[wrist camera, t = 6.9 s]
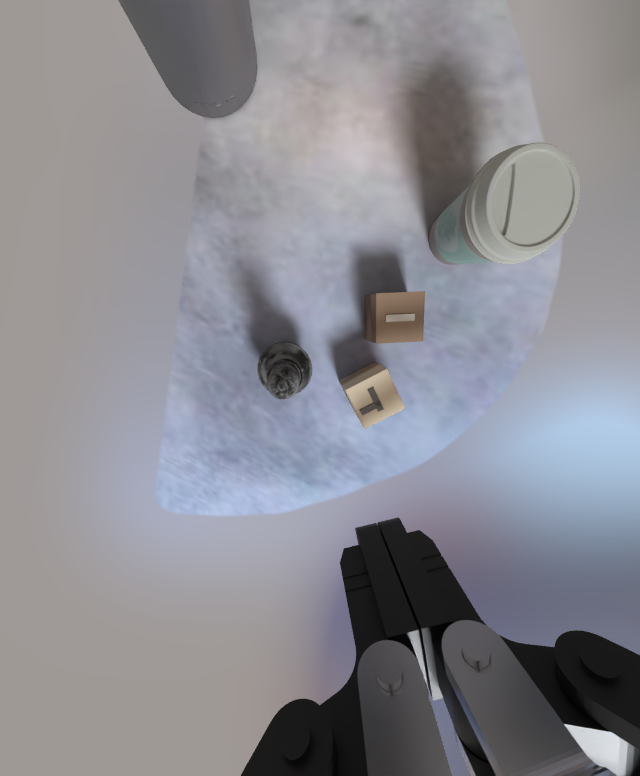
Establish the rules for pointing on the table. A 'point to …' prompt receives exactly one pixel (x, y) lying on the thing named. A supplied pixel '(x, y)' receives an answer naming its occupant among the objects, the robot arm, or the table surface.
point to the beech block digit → (372, 394)
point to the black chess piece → (284, 369)
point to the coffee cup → (509, 208)
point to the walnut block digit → (394, 317)
